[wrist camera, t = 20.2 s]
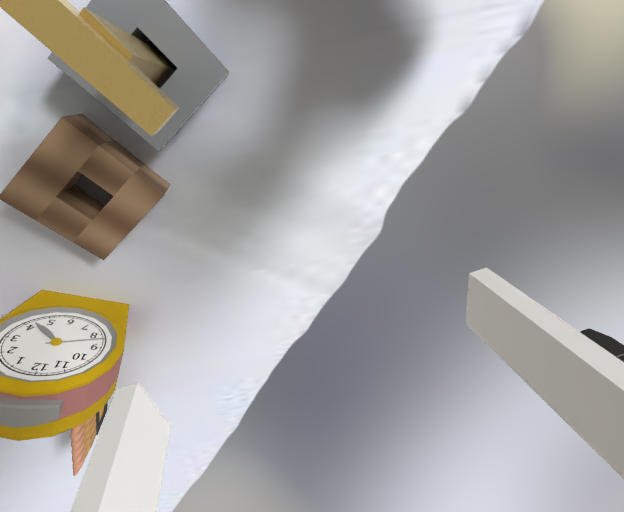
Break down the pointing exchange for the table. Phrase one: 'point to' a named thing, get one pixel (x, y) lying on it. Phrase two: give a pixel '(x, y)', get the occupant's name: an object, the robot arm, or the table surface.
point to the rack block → (174, 45)
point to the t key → (102, 57)
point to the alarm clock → (58, 362)
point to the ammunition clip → (85, 438)
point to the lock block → (74, 202)
